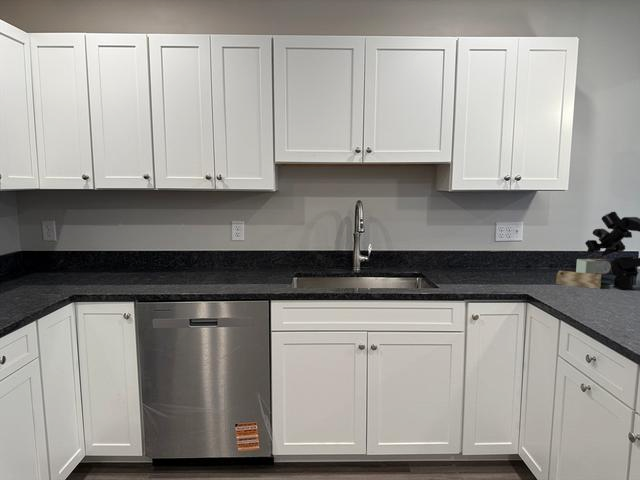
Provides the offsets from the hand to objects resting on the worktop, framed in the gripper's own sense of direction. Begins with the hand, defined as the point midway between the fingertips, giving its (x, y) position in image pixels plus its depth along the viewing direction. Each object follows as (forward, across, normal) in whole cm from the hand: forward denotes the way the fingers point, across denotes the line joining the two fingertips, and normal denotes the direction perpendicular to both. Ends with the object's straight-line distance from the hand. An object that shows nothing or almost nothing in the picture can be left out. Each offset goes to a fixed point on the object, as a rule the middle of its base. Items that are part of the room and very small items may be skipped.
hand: (594, 255), depth 209 cm
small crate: (+12, 0, +6) cm, 14 cm away
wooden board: (+6, +13, +12) cm, 19 cm away
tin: (+20, -17, -1) cm, 26 cm away
